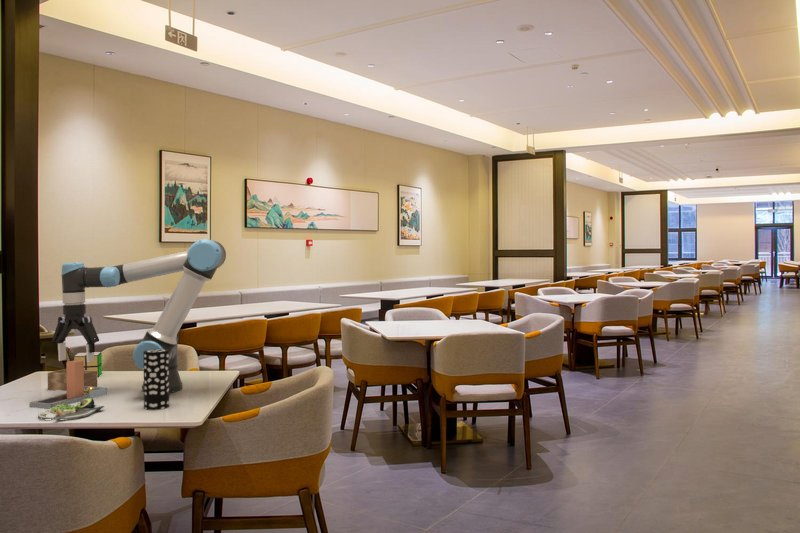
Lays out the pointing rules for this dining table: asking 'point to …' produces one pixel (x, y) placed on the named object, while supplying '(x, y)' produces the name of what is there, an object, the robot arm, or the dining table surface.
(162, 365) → the spotted tube
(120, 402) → the dining table surface
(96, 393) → the tray
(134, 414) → the dining table surface
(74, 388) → the post
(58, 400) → the shallow gray open box
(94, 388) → the ball
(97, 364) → the puzzle cube
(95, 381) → the brown wooden block
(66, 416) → the salad plate
